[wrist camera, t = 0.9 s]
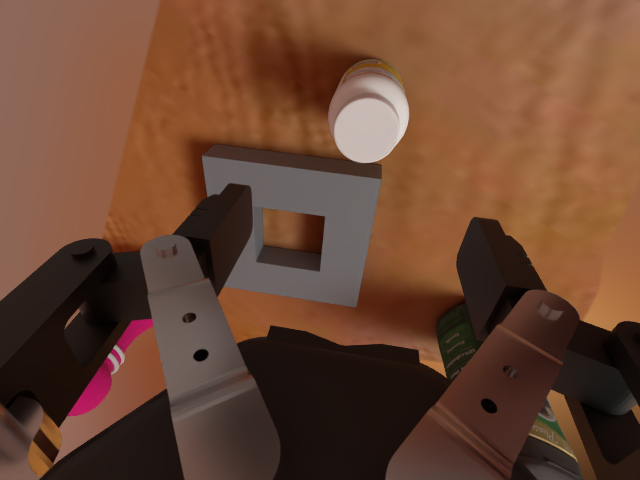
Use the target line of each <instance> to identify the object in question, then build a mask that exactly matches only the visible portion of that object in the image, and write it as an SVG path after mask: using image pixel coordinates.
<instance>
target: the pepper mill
mask: <svg viewBox="0 0 640 480" xmlns="http://www.w3.org/2000/svg"><path fill="white" fill-rule="evenodd" d="M152 326H154V325H153V320H152V319H145V320H135V321H132V322H131V323H130V324H129V326H128V327H127V329H126V330H125V332H124V333H123V335H122V336H121V338H120V339H119V341H118V342H117V344H116V345H115V346H114V348H113V349H112V351H111V352H110V354H109V355H108V357H107V358H106V360H105V361H104V363H103V364H102V366H101V367H100V368H99V370H98V371H97V373H96V374H95V376H94V377H93V379H92V380H91V382H90V383H89V385H88V386H87V387H86V389H85V390H84V392H83V393H82V395H81V396H80V398H79V399H78V401H77V402H76V404H75V405H74V407H73V408H72V409H71V411H70V412H69V414H68V415H67V416H77V415H81V414H85V413H87V412H89V411H91V410H92V409H93V408H95V407H96V406H98V405H99V404H100V403H101V402H102V401H103V399H104V398H105V397H106V395H107V394H108V392H109V390H110V388H111V382H112V380H111V374H113V373H115V372H116V371H117V370H118V369H119V366H120V365H121V364H122V363H123V362H124V359H125V356H124V353H125V351H126V349H127V348H128V346H129V345H130V344H131V343H132V342H133V340H134V339H135V338H136V337H137V336H139V334H141V333H143V332H144V331H146V330H147V329H149V328H150V327H152Z"/></svg>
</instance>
